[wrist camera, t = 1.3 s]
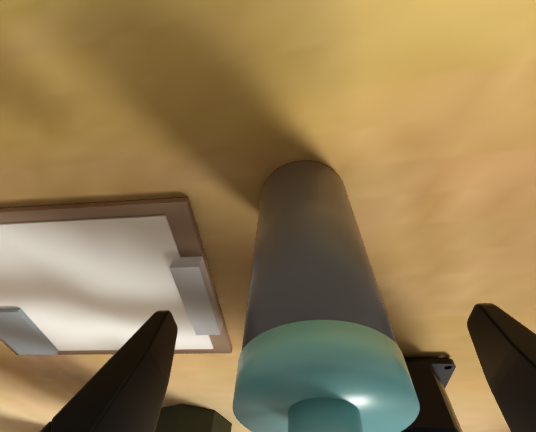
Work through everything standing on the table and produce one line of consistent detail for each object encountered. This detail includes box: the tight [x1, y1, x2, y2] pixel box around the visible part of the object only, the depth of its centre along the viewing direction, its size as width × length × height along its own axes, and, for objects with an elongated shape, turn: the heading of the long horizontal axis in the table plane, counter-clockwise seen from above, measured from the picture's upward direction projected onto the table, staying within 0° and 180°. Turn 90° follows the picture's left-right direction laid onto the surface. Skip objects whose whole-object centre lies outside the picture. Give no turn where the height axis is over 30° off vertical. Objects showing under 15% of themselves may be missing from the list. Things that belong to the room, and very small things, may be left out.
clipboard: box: [0, 197, 232, 355], centre depth 18 cm, size 13×17×1 cm
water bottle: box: [233, 161, 420, 432], centre depth 10 cm, size 4×4×10 cm
